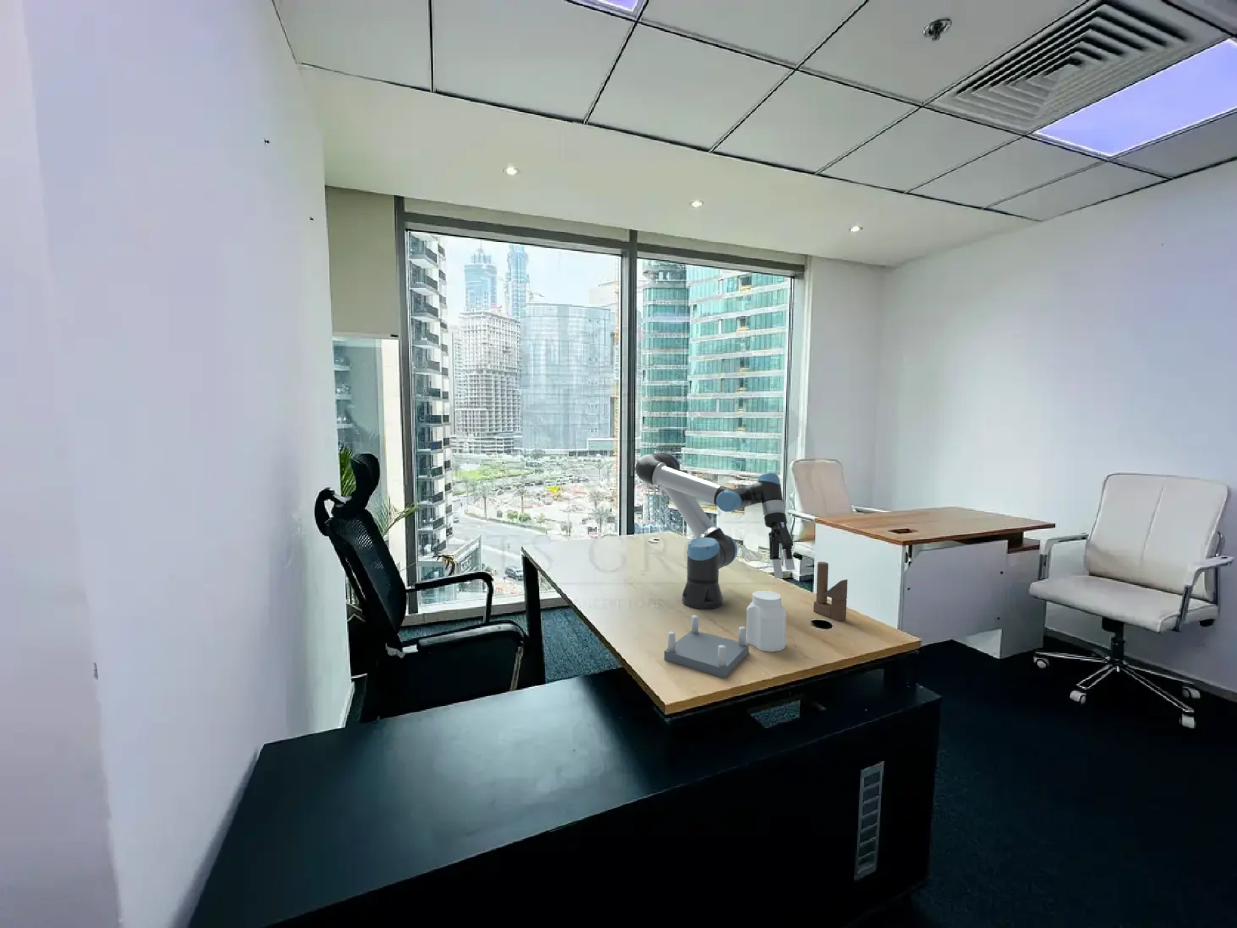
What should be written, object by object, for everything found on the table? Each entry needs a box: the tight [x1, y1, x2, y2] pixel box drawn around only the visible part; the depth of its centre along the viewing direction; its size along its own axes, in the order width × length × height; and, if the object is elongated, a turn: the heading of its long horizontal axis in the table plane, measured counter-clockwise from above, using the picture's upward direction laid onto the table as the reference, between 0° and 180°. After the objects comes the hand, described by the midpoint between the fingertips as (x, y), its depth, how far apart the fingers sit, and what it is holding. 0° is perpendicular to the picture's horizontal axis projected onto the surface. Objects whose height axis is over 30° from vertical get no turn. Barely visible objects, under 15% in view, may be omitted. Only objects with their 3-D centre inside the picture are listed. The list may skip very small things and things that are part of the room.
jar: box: [745, 590, 787, 653], centre depth 148 cm, size 12×10×15 cm
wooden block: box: [813, 561, 849, 622], centre depth 171 cm, size 4×11×18 cm, turn 29°
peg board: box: [663, 614, 750, 679], centre depth 140 cm, size 18×18×8 cm
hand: (784, 574), depth 167 cm, fingers open, 13 cm apart
